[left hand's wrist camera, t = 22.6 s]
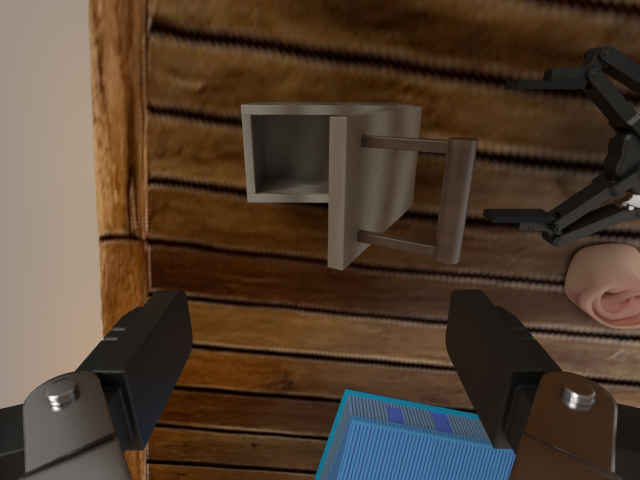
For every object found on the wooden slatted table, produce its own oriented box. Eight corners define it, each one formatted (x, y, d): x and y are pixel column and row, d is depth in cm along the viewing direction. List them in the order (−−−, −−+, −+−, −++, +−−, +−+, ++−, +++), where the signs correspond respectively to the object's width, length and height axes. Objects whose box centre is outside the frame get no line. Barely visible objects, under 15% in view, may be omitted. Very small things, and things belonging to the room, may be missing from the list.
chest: (260, 182, 49) (247, 202, 40) (256, 101, 45) (240, 104, 36) (390, 182, 49) (406, 203, 40) (396, 102, 45) (414, 105, 36)
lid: (327, 267, 26) (449, 296, 22) (329, 116, 22) (474, 122, 19) (402, 204, 40) (483, 215, 36) (410, 105, 36) (502, 107, 33)
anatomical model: (575, 269, 49) (669, 237, 47) (557, 256, 52) (644, 226, 51) (589, 348, 53) (675, 321, 52) (571, 331, 57) (652, 306, 55)
